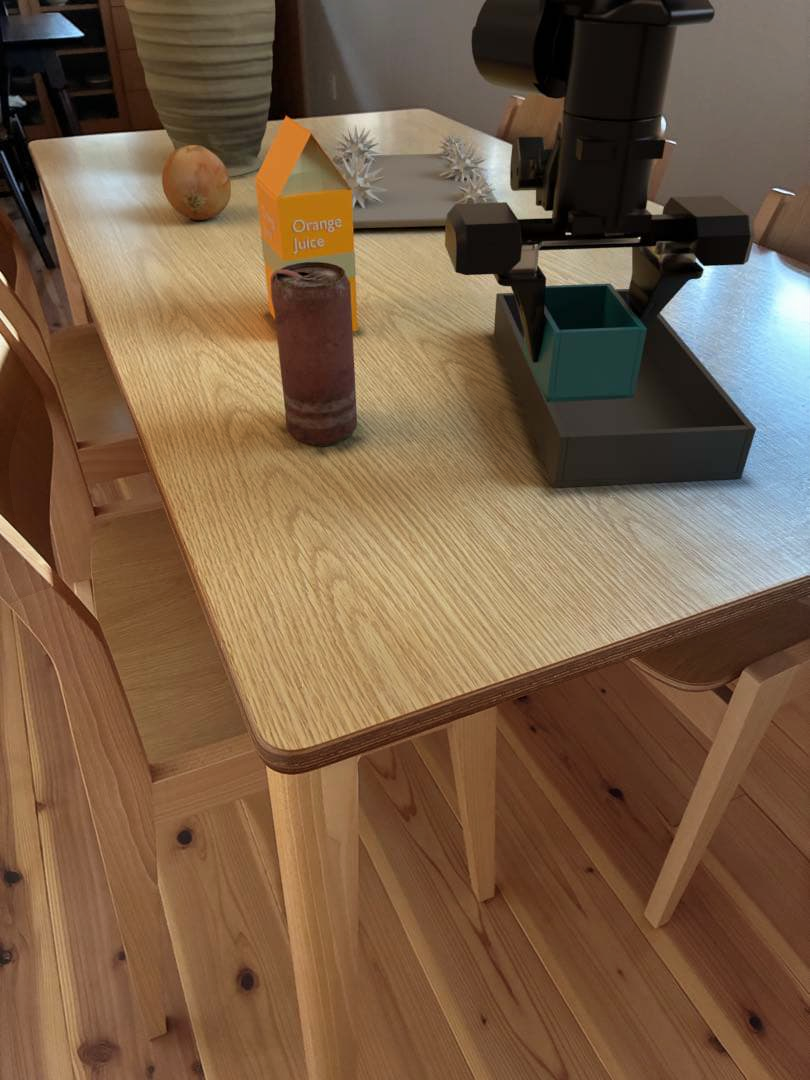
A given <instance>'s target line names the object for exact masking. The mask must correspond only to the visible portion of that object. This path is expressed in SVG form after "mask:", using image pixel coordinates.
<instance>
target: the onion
mask: <svg viewBox="0 0 810 1080" xmlns="http://www.w3.org/2000/svg"><path fill="white" fill-rule="evenodd" d="M161 173H162V174H161V182H162V183H161V184H162V185H161V186H162V190H163V194H164V196H165V198H166V200H167V202H168V203H169V204H170V206H171V207H172V208H173V210H175V212H177V213H178V214H180V215H181V216H183V217H185V218H188V219H189V220H191V221H193V220H194V221H204V220H209V219H212V218H214V217H216V216H218V215H220V214H221V213H222V212H223V211H224V210H225V209H226V207H227V206H228V204H229V203H230V199H231V195H232V181H231V176H230V177H229V174H228V172H227V169H226V167H225V166H224V164H223V162H222V161H221V160H220V159H219V158H218V157H217V156H216V155H215V154H213V153H212V152H211V151H209V150H208V149H206V148H204V147H202V146H198V145H189V146H185V147H182V148H179V149H177V150H175V149H174V151H171V153H170V154H169V155H168V156H167V158H166V160H165V162H164V166H163V169H162V172H161Z"/></svg>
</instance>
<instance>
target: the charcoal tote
mask: <svg viewBox="0 0 810 1080" xmlns="http://www.w3.org/2000/svg"><path fill="white" fill-rule="evenodd" d="M615 290H616V291H617V292H618V293H619V295H620V296H621V297H622V298H623V300H624V301H625V302H626V299H627V295H628V290H629V288H615ZM494 311H495V312H494V323H493V324H494V326H493V336H494V339H495V342H496V344H497V346H498V349H499V351H500V354H501V358H502V359H503V362H504V365H505V367H506V369H507V372H508V374H509V377H510V379H511V382H512V384H513V387H514V389H515V392H516V395H517V397H518V400H519V402H520V405H521V407H522V409H523V412H524V415H525V417H526V420H527V423H528V425H529V428H530V430H531V432H532V435H533V437H534V440H535V442H536V445H537V447H538V450H539V453H540V455H541V457H542V460H543V462H544V465H545V468H546V470H547V473H548V475H549V478H550V480H551V483H552V486H553V488H572V487H573V488H574V487H575V488H576V487H593V486H594V487H595V486H612V485H613V486H614V485H615V486H616V485H617V486H618V485H635V484H636V485H637V484H655V483H656V484H657V483H675V482H678V483H679V482H693V481H694V482H695V481H698V482H699V481H713V480H714V481H715V480H716V481H717V480H736V479H742V478H743V474H744V470H745V467H746V464H747V460H748V457H749V454H750V451H751V448H752V444H753V440H754V437H755V434H756V431H757V428H756V426H755V425H754V424H753V423H752V422H751V420H750V419H749V418H748V416H746V415H745V413H744V412H743V411H742V409H740V407H739V406H738V404H736V402H735V401H734V399H733V398H732V397H731V396H730V395H729V394H728V393H727V392H726V390H725V389H724V388H723V386H722V385H721V384H720V383H719V382H718V381H717V379H716V378H715V377H714V376H713V375H712V374H711V372H710V371H709V370H708V369H707V368H706V366H705V365H704V364H703V363H702V361H700V359H699V358H698V356H696V354H695V353H694V352H693V351H692V350H691V348H690V347H689V346H688V344H687V343H686V342H685V341H684V340H683V339H682V337H680V335H679V334H678V333H677V331H676V330H675V329H674V328H673V326H672V325H671V324H670V323H669V322H668V321H667V320H666V318H665V317H664V316H663V314H662V313H661V312H660V313H659V314H658V316H657V317H656V318H655V320H654V321H653V322H652V324H651V325H650V326H649V328H648V329H647V331H646V335H645V340H644V346H643V351H642V356H641V361H640V367H639V372H638V377H637V382H636V388H635V393H634V398H628V399H607V400H587V401H566V402H546V399H545V397H544V395H543V393H542V391H541V389H540V387H539V385H538V383H537V381H536V379H535V376H534V374H533V372H532V370H531V368H530V366H529V364H528V362H527V360H526V358H525V355H524V353H523V341H524V330H523V326H522V322H521V318H520V314H519V310H518V306H517V302H516V299H515V296H514V293H513V292H503V293H502V292H501V293H500V292H498V293H496V295H495V310H494Z"/></svg>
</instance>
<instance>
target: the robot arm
mask: <svg viewBox="0 0 810 1080" xmlns="http://www.w3.org/2000/svg"><path fill="white" fill-rule="evenodd" d="M715 15H716V10H715V7H714V6H713V4H712V3H711V1H710V0H485V1H484V2H483V4H482V6H481V8H480V10H479V13H478V15H477V19H476V21H475V25H474V27H472V30H471V39H470V40H471V54H472V58H473V62H474V65H475V67H476V69H477V71H478V73H479V75H480V76H481V77H482V78H483V80H485V81H486V82H488V83H489V84H491V85H493V86H498V87H502V88H507V89H511V90H514V91H519V92H523V93H529V94H531V95H532V94H533V95H536V96H540V97H545V98H551V99H554V100H555V99H556V100H557V99H563V109H562V118H561V120H559V121H557V129H556V130H555V138H554V139H555V140H554V144H553V147H552V148H546V144H545V143H546V142H545V138H544V137H543V136H518V137H515V138H514V139H512V144H511V154H510V166H509V172H510V174H509V186H510V189H511V191H513V192H520V191H524V192H525V191H535V206H537V207H541V208H542V209H543V210H544V212H551V217H549V218H548V217H544V218H541V217H539V218H518V217H517V216H516V214H515V213H514V211H513V210H512V208H511V206H510V205H509V204H508V202H507V201H503V202H498V203H469V204H455V205H454V206H453V207H452V209H451V210H450V211H449V212H448V214H447V217H446V224H445V226H444V227H445V231H444V247H445V249H446V252H447V255H448V257H449V259H450V262H451V265H452V267H453V269H454V272H455V273H456V274H459V275H463V276H478V275H480V276H481V275H482V276H483V275H484V276H485V275H493V276H494V279H495V280H496V282H497V284H498V285H499V286H502V287H510V288H511V290H512V291H511V292H512V293H514V296H515V299H516V302H517V306H518V310H519V314H520V318H521V322H522V326H523V330H524V334H525V339H526V343H527V347H528V351H529V355H530V358H531V360H532V362H533V363H537V362H538V358H539V354H540V349H541V345H542V338H543V322H544V306H545V290H546V286H547V277H546V276H545V273H544V272H543V271H542V269H541V267H540V266H539V254H540V251H564V250H565V251H566V250H567V251H569V250H590V249H592V250H593V249H616V248H617V249H619V248H620V249H621V248H622V249H623V248H631V251H632V252H631V268H632V269H631V276H630V277H631V279H630V283H629V286H628V289H629V290H628V295H627V299H626V303H627V305H628V306H629V307H630V308H631V310H632V311H633V312H634V313H635V315H636V316H637V317H638V318H639V320H640V321H641V322H642V323H643V325H644V326H645V327H646V328H647V329H648V328H649V326H650V325H651V324H652V322H653V321H654V320H655V318H656V317H657V316H658V314H659V313H660V314H661V312H662V311H663V310H664V309H665V307H666V306H667V305H668V304H669V303H671V301H672V300H673V298H674V297H675V296H676V295H677V294H678V293H679V292H680V291H681V289H682V288H683V287H684V286H685V285H686V284H687V283H688V282H689V281H691V280H698V279H701V278H702V277H703V274H704V270H705V269H704V268H703V267H719V266H743V265H745V264H747V263H748V262H749V260H750V256H751V252H752V248H753V244H754V241H755V238H756V237H755V236H756V233H755V227H754V226H755V225H754V221H753V220H752V218H751V217H750V215H749V214H748V213H746V212H744V210H742V209H740V207H738V206H736V205H735V204H734V203H732V202H730V201H729V200H728V199H726V198H724V197H723V196H722V195H720V194H719V195H692V196H691V195H690V196H670V198H669V199H668V201H667V202H666V203H665V204H664V206H663V208H662V214H661V213H660V214H652V213H651V212H650V211H649V210H647V206H648V200H649V194H650V189H651V183H652V177H653V170H654V165H655V160H663V156H664V153H665V152H664V151H665V146H666V141H667V140H666V139H665V138H664V137H663V136H661V135H660V130H661V124H662V120H663V113H664V108H665V107H664V106H665V102H666V101H665V100H666V95H667V89H668V83H669V78H670V73H671V66H672V60H673V55H674V48H675V43H676V37H677V31H678V27H680V26H681V27H682V26H691V25H692V26H693V25H702V24H709V23H710V22H712V21H713V19H714V18H715ZM697 261H698V262H699V263H698V262H697ZM700 264H701V265H700ZM702 266H703V267H702ZM646 331H647V330H646Z"/></svg>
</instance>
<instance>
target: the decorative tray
mask: <svg viewBox="0 0 810 1080" xmlns="http://www.w3.org/2000/svg"><path fill="white" fill-rule="evenodd" d="M365 129H366V126H364V128H363V129H362V131H361V132H360V135H359V133H358V128H357V124H356V123H355V124H354V136H353V134H352V132H351V131H350V129H349V128H347V132H348V136H349V137H347V136H346V135H345V134H344V133H342V132H341V131H339V133H340V135H341V136H342V137H343V139H344V141H340V140H335V141H336V142H337V143H339V144H340V145H341V146H343V147H336V148H335V147H334V148H333V150H335V151H337V152H342V154H340V155H335V156H334V157H333V158H332V159H330V160H331V161H332V163H333V164H334V166H335V167H336V168H337V170H338V171H339V173H340V174H341V175H342V177H343V178H344V180H345V181H346V182H347V184H348V185H349V187H350V188H351V189H352V212H353V229H371V228H372V229H373V228H374V229H376V228H379V229H380V228H409V227H411V228H412V227H445V224H446V217H447V214H448V212H449V211H450V210H451V209H452V207H453V206H454V205H455V204H469V203H499V202H498V200H497V197H496V196H495V194H494V192H493V191H496V188H492V187H491V186H493V184H494V182H493V183H490V184H488V182H487V180H488V177H489V175H487V176H486V177H485V174H482V172H481V171H483V172H484V171H488V169H486V168H484V167H480V166H478V165H480V164H481V163H483V162H485V161H487V159H488V158H483V157H481V156H482V155H484V152H482V153H479V154H477V155H474V154H475V152H476V150H477V147H478V145H479V143H477V144H476V145H475V147H474V148H473V145H474V141H473V142H472V141H470V142H469V143H467V140H468V138H467V139H466V138H465V139H463V135H464V133H462V134H461V132H458V133H457V134H456V135H455V131H452V136H451V134H450V133H449V132H448V133H447V132H446V133H447V137H446V136H445V135H443V134H442V137H443V139H444V141H442V140H440V141H439V143H440V144H442V145H443V146H438V148H440V149H443V150H442V151H440V152H438V153H411V154H410V153H409V154H405V153H404V154H381V153H380V152H377V151H373V150H371V149H373V148H374V147H375V146H377V145H379V142H377V143H373V142H374V140H376V139H377V138H378V136H376V137H373V138H371V139H369V140H367V139H368V137H369V134H370V132H371V129H369V130H368V132H367V133H365ZM364 133H365V134H364ZM467 145H468V146H467ZM465 146H467V148H465ZM472 148H473V149H472Z"/></svg>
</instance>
